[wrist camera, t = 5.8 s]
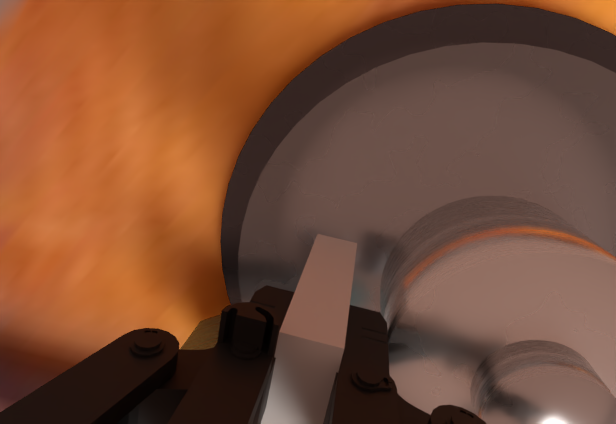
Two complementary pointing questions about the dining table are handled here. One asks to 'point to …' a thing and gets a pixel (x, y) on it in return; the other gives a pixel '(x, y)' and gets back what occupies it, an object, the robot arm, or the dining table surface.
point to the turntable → (430, 159)
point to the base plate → (380, 50)
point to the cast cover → (502, 315)
